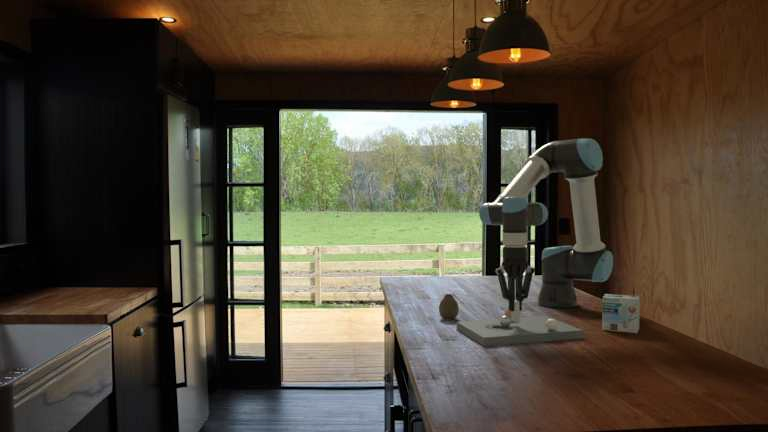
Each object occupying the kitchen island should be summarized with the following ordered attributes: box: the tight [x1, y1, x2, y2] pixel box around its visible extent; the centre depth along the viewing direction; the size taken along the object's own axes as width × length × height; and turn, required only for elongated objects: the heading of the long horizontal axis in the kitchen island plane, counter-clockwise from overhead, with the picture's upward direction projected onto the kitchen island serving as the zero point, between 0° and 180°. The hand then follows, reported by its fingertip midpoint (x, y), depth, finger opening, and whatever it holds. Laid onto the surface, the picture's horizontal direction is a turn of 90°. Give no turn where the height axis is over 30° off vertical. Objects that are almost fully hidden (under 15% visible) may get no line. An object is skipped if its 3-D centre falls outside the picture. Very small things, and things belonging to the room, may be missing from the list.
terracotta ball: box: [504, 307, 511, 319], centre depth 187 cm, size 4×4×4 cm
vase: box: [438, 293, 459, 321], centre depth 202 cm, size 7×7×9 cm
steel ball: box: [499, 315, 511, 327], centre depth 178 cm, size 4×4×4 cm
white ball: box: [545, 318, 557, 331], centre depth 172 cm, size 4×4×4 cm
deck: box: [456, 315, 584, 347], centre depth 179 cm, size 32×22×2 cm
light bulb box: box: [601, 293, 640, 334], centre depth 182 cm, size 11×7×11 cm, turn 62°
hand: (515, 321), depth 178 cm, fingers closed
